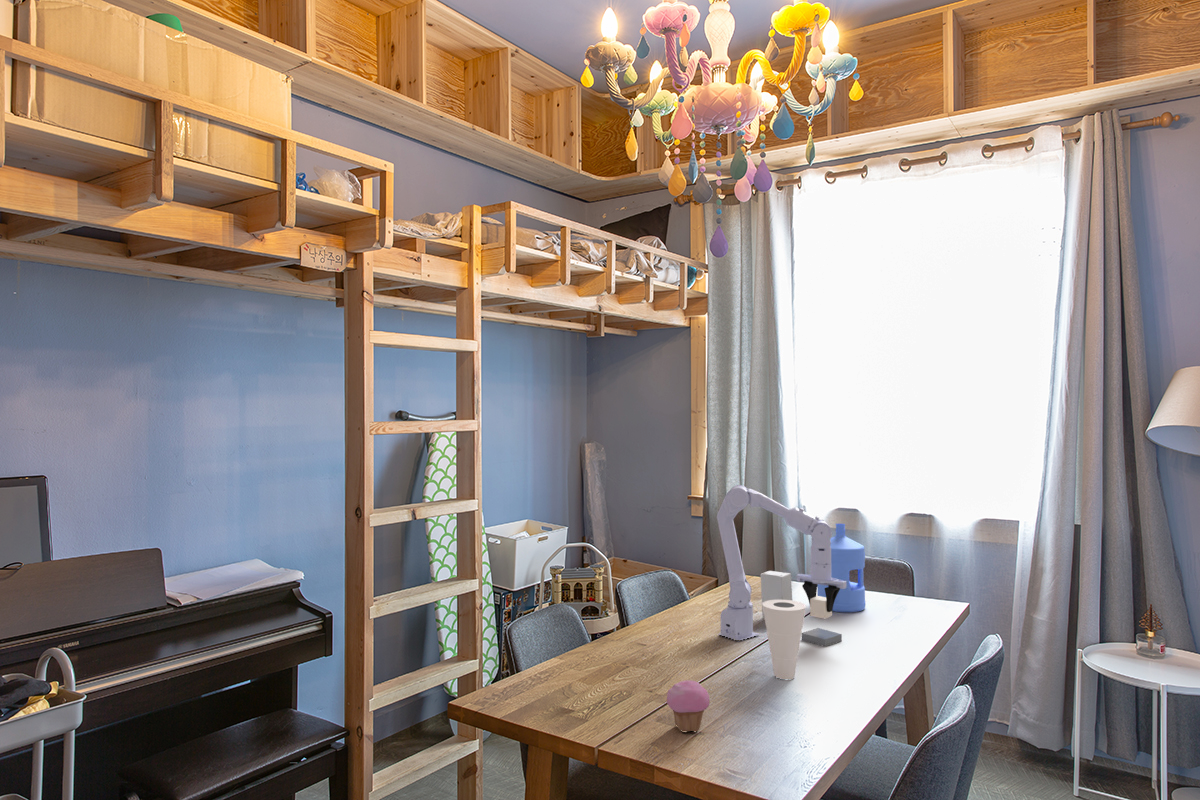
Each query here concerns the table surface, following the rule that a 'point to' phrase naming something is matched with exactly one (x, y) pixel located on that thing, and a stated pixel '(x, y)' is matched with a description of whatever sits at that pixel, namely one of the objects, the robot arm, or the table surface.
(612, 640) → the table surface
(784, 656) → the cup
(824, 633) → the base
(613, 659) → the table surface
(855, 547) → the water jug
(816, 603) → the block
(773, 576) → the skincare box
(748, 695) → the table surface
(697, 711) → the cupcake
